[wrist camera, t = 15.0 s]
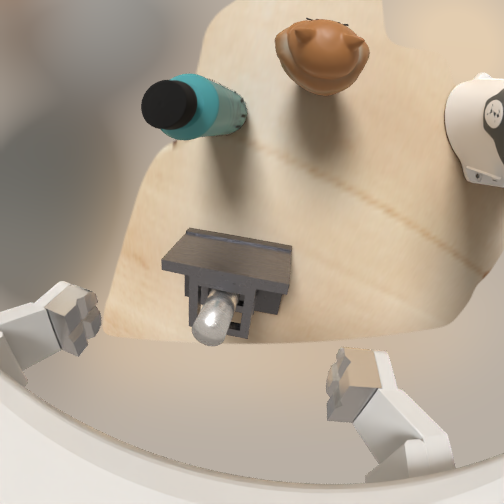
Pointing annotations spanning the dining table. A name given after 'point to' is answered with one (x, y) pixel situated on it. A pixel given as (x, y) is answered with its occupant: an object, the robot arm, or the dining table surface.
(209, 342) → the grey cylinder
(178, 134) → the beverage bottle
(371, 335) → the dining table surface
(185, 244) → the collar stand
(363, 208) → the dining table surface
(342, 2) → the dining table surface
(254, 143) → the dining table surface
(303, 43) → the cat ice cream
